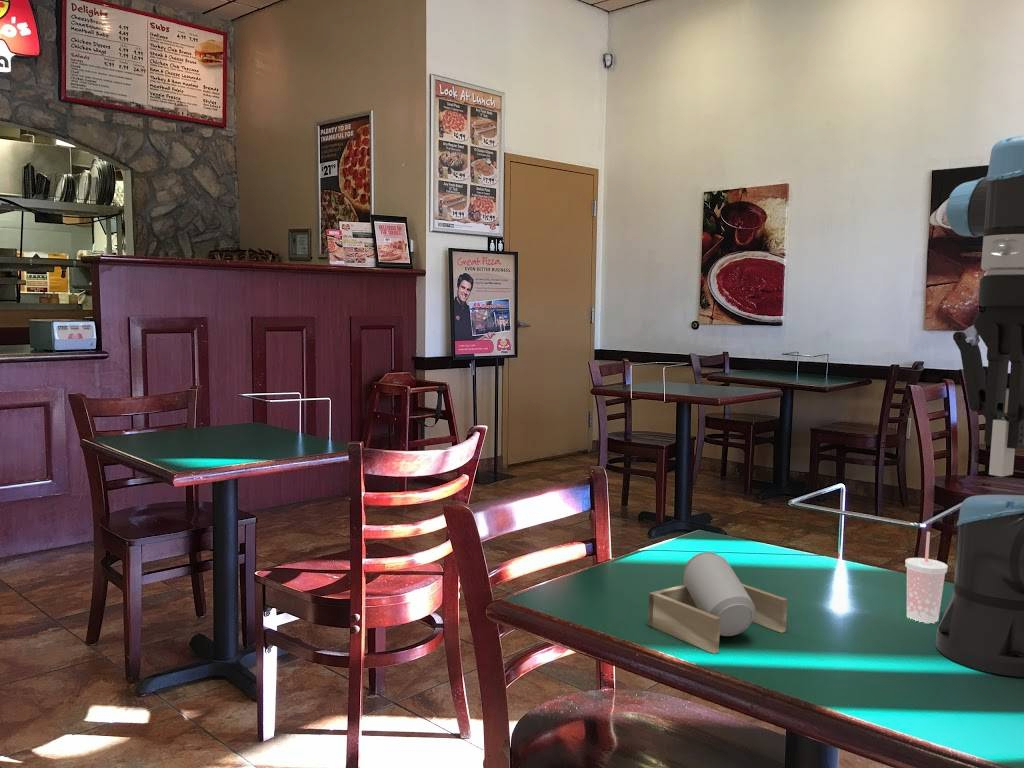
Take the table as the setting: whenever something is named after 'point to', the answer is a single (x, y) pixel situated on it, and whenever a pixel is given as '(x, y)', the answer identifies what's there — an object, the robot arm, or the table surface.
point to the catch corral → (708, 615)
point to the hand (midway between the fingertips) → (1000, 474)
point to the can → (719, 592)
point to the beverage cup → (924, 587)
